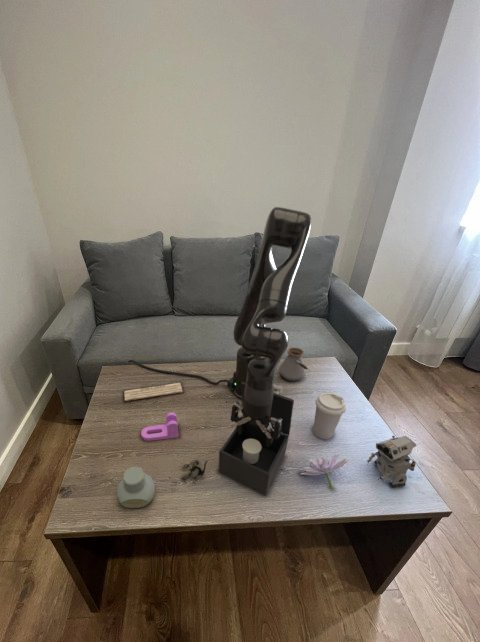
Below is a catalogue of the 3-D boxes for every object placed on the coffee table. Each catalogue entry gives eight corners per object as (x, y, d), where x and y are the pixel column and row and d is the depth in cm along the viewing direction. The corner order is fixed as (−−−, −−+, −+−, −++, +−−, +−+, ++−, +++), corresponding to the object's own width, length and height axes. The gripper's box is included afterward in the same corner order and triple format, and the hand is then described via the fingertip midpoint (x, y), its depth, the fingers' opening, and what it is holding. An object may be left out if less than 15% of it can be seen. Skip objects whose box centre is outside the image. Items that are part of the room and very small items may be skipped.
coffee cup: (339, 444, 108) (350, 411, 100) (310, 440, 110) (318, 408, 101) (334, 424, 116) (344, 392, 108) (307, 420, 117) (314, 389, 109)
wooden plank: (125, 402, 128) (124, 398, 127) (124, 391, 134) (124, 387, 133) (182, 393, 132) (182, 390, 131) (179, 383, 138) (179, 379, 137)
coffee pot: (275, 368, 145) (279, 340, 137) (300, 368, 145) (306, 339, 137) (286, 399, 128) (291, 369, 119) (315, 399, 127) (322, 369, 119)
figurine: (356, 465, 101) (369, 432, 93) (390, 461, 102) (406, 428, 94) (373, 491, 93) (389, 457, 85) (409, 486, 94) (429, 453, 86)
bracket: (176, 425, 117) (176, 411, 113) (178, 437, 112) (177, 423, 108) (141, 430, 115) (139, 416, 112) (141, 441, 111) (139, 427, 107)
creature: (177, 479, 99) (199, 487, 95) (173, 467, 97) (195, 474, 92) (191, 461, 105) (211, 468, 100) (187, 449, 102) (208, 455, 98)
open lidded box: (265, 496, 93) (269, 475, 87) (218, 472, 100) (219, 451, 94) (284, 456, 104) (288, 435, 99) (241, 437, 111) (243, 417, 106)
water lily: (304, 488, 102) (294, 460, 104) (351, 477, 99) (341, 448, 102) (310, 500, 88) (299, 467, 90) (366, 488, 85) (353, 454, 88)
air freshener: (116, 510, 90) (111, 489, 84) (120, 484, 97) (115, 463, 91) (155, 508, 90) (152, 487, 85) (156, 482, 97) (153, 461, 92)
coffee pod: (237, 457, 97) (238, 446, 94) (248, 447, 100) (249, 435, 97) (253, 468, 94) (254, 456, 91) (263, 456, 97) (265, 445, 94)
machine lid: (293, 401, 86) (299, 388, 89) (240, 383, 94) (248, 371, 97) (288, 435, 98) (294, 423, 101) (242, 417, 106) (249, 405, 109)
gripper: (289, 396, 83) (281, 439, 92) (239, 379, 90) (237, 421, 98) (279, 413, 78) (272, 457, 86) (227, 394, 84) (225, 437, 93)
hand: (253, 438), depth 92 cm, fingers open, 8 cm apart
